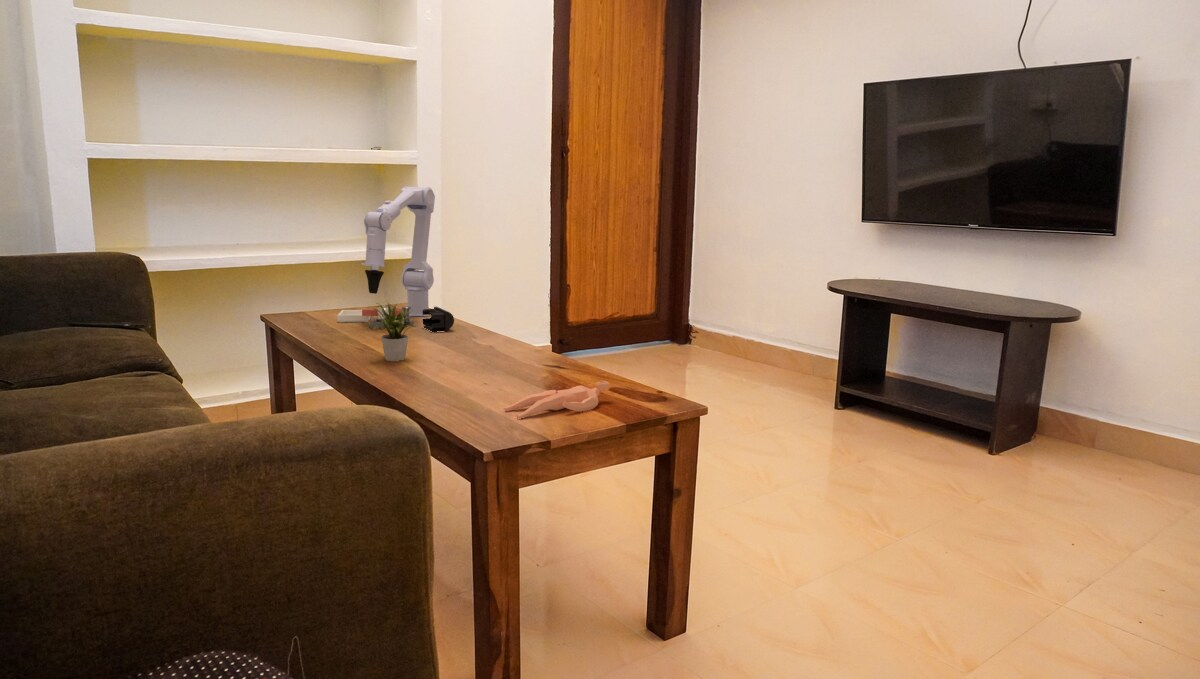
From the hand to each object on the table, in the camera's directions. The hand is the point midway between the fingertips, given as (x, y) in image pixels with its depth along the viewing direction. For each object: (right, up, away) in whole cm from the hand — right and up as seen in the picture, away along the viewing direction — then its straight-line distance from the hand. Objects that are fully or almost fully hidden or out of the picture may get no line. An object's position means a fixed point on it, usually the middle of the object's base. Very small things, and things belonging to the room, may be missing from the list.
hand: (372, 293), depth 249 cm
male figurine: (+63, -30, -75) cm, 102 cm away
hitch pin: (+2, -10, +6) cm, 12 cm away
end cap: (+20, -12, +4) cm, 23 cm away
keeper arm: (+1, -7, +8) cm, 11 cm away
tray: (-10, -8, +14) cm, 19 cm away
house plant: (+15, -20, -37) cm, 45 cm away
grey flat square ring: (+2, -10, +6) cm, 12 cm away
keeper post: (+8, -10, +10) cm, 16 cm away
